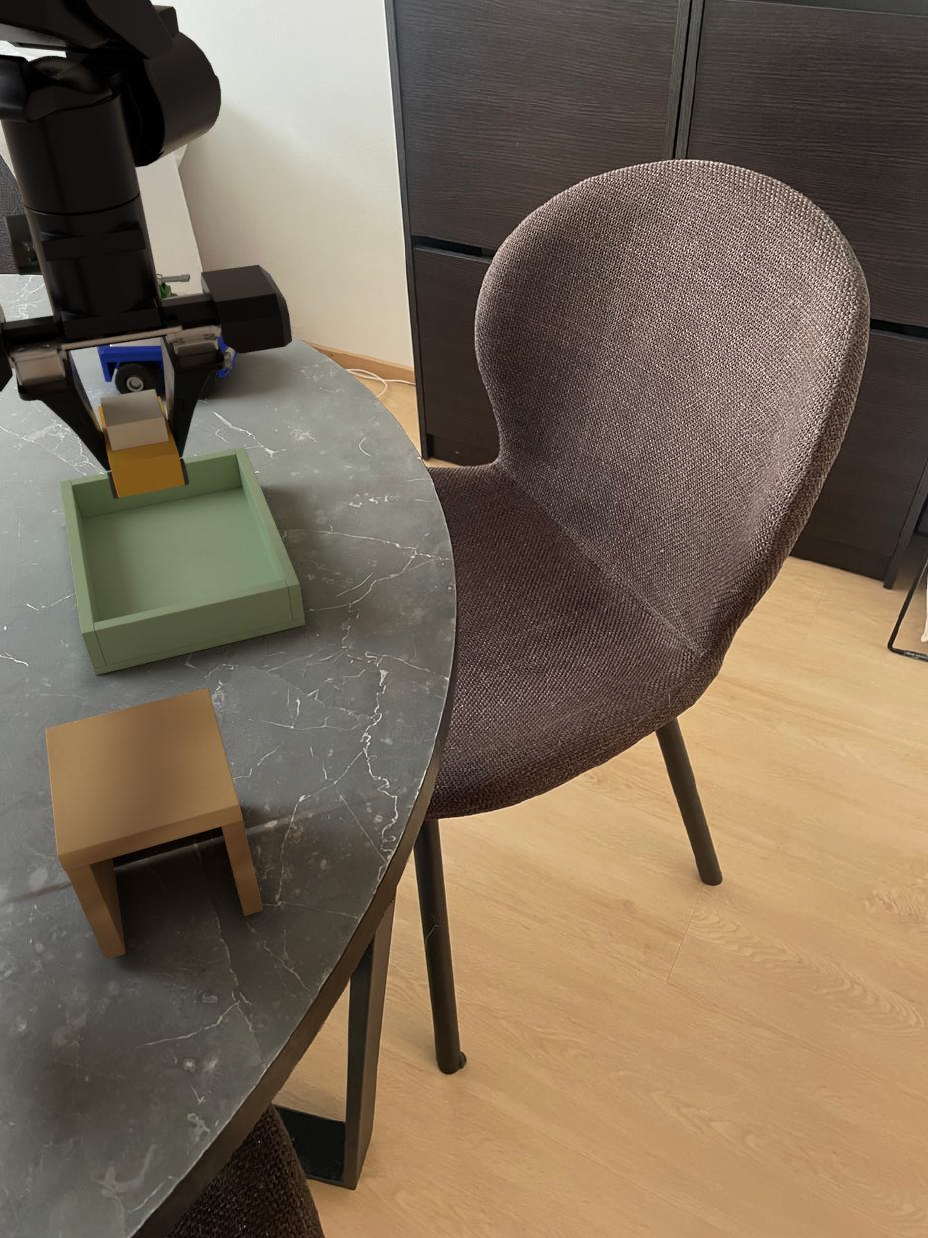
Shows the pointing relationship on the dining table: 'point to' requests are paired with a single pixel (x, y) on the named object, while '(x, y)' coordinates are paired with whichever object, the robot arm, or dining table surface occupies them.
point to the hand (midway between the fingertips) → (144, 460)
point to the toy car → (151, 356)
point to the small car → (139, 445)
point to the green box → (177, 564)
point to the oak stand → (141, 798)
